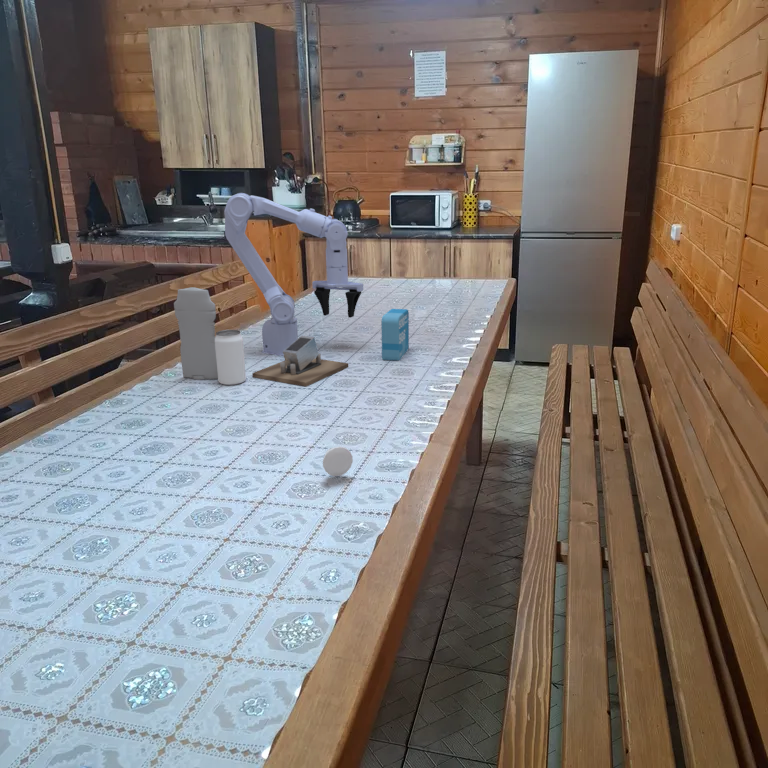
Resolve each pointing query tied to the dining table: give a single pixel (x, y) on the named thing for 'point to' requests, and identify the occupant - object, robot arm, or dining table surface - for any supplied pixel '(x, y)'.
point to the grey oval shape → (337, 461)
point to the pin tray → (301, 372)
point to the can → (230, 357)
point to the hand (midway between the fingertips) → (338, 315)
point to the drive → (301, 352)
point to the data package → (395, 334)
